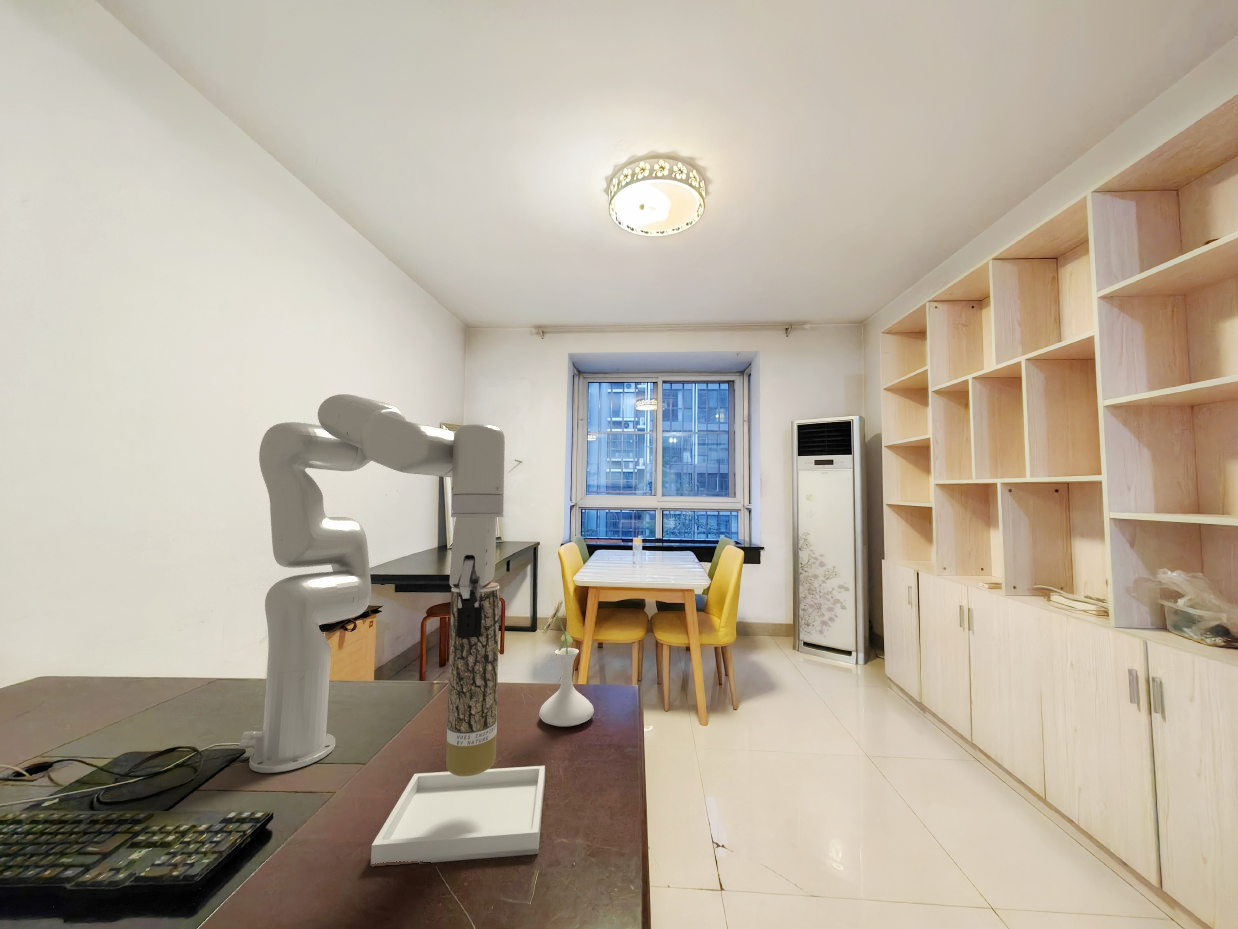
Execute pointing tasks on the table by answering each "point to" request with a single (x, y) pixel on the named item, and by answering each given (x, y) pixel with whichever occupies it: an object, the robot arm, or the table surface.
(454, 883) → the table surface
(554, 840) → the table surface
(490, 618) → the paper tube
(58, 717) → the table surface
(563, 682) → the flower in vase
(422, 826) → the tray
